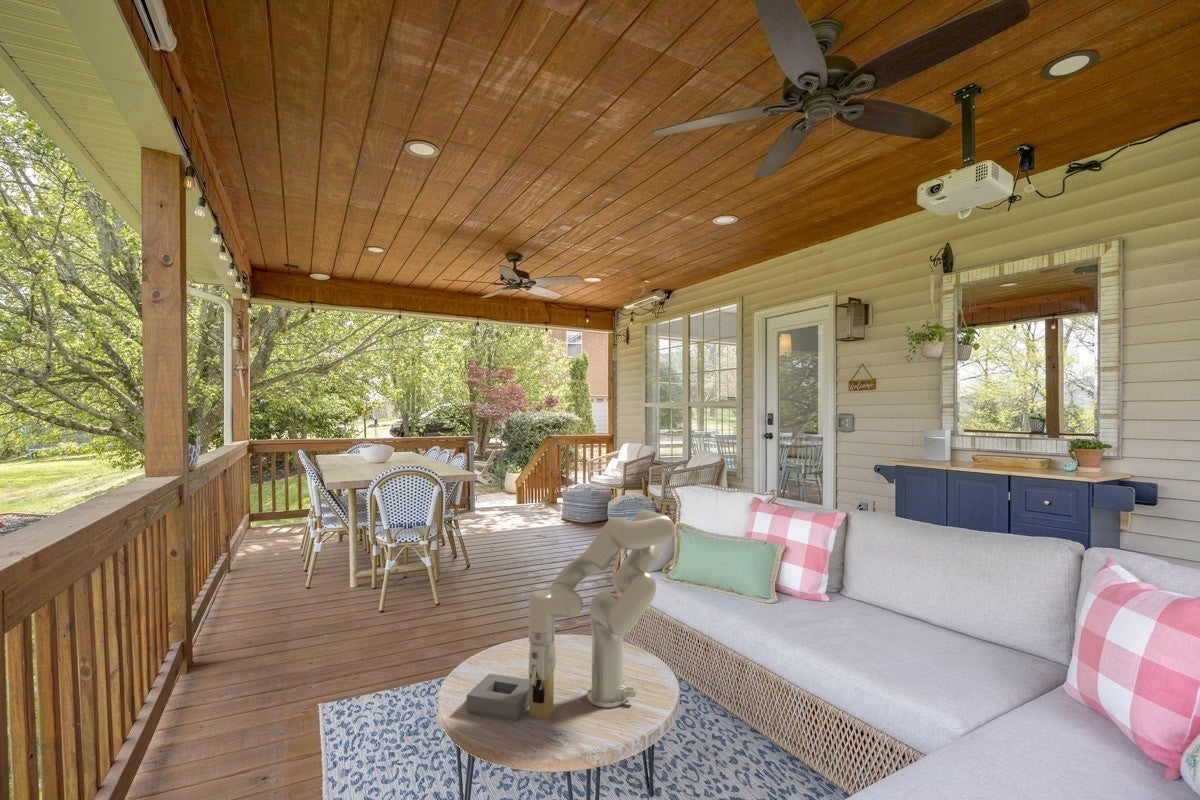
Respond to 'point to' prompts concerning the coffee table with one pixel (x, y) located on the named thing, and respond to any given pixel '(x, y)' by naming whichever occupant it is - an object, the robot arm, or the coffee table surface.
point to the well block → (499, 697)
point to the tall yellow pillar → (547, 705)
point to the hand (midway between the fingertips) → (541, 697)
